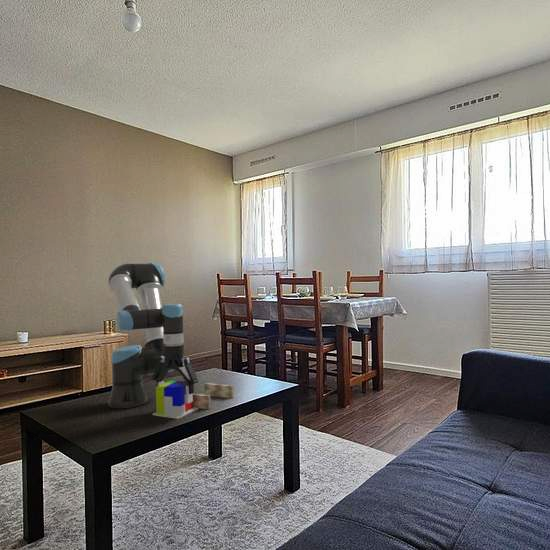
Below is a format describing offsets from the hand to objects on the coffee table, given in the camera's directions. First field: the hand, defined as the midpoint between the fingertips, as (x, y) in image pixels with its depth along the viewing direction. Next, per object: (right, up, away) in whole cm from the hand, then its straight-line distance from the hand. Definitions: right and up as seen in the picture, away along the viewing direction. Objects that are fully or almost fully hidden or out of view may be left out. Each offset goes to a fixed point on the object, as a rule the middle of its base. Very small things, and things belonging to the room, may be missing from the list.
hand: (175, 400), depth 158 cm
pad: (0, -4, 0) cm, 4 cm away
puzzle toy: (0, -4, 0) cm, 4 cm away
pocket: (+10, -4, +13) cm, 17 cm away
